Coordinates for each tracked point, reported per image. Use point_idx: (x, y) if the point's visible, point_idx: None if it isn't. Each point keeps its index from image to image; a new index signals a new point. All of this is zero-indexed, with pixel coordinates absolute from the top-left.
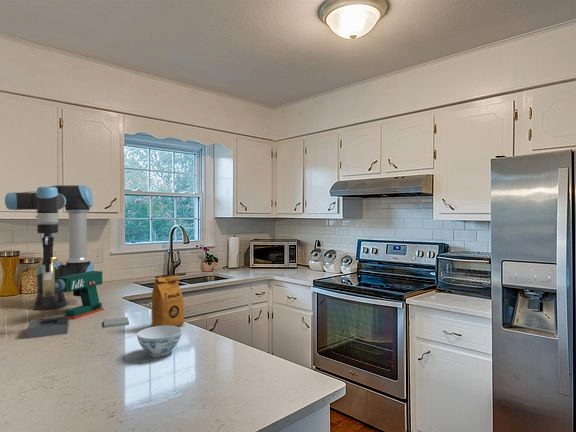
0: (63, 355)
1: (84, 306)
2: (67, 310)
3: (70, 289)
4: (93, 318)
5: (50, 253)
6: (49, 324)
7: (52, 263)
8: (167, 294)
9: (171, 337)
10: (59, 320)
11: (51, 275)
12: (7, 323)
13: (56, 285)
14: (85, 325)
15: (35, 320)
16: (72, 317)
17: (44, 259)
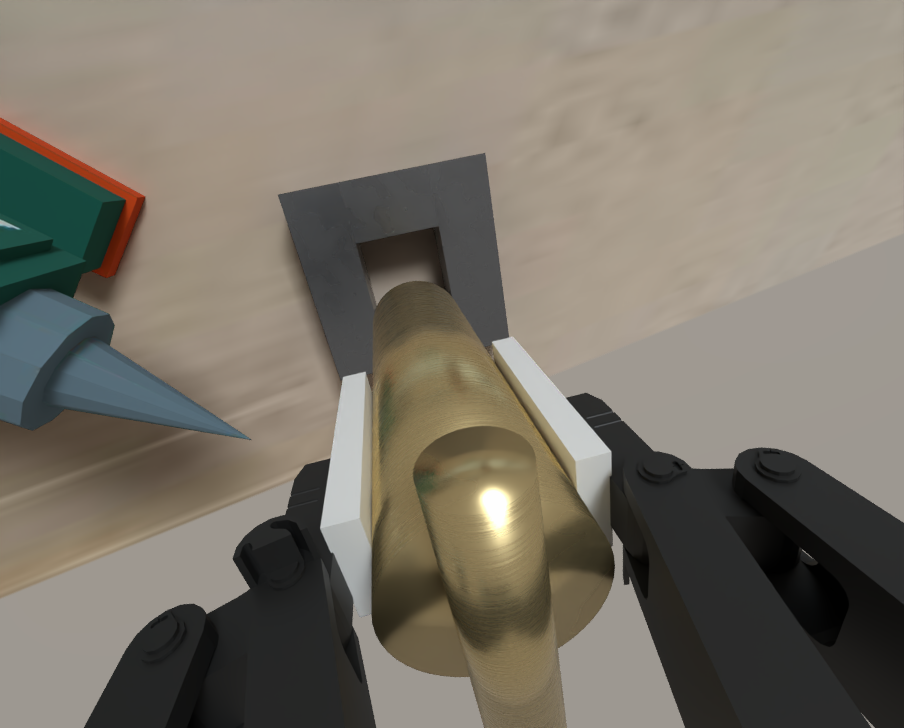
0: (811, 80)
1: None
2: (83, 257)
3: (35, 235)
4: (120, 50)
5: (860, 724)
6: (467, 255)
7: (545, 462)
8: None
9: None
10: (388, 224)
11: (530, 358)
12: (215, 501)
13: (116, 368)
14: (317, 76)
15: (357, 358)
16: (134, 209)
17: (844, 590)
